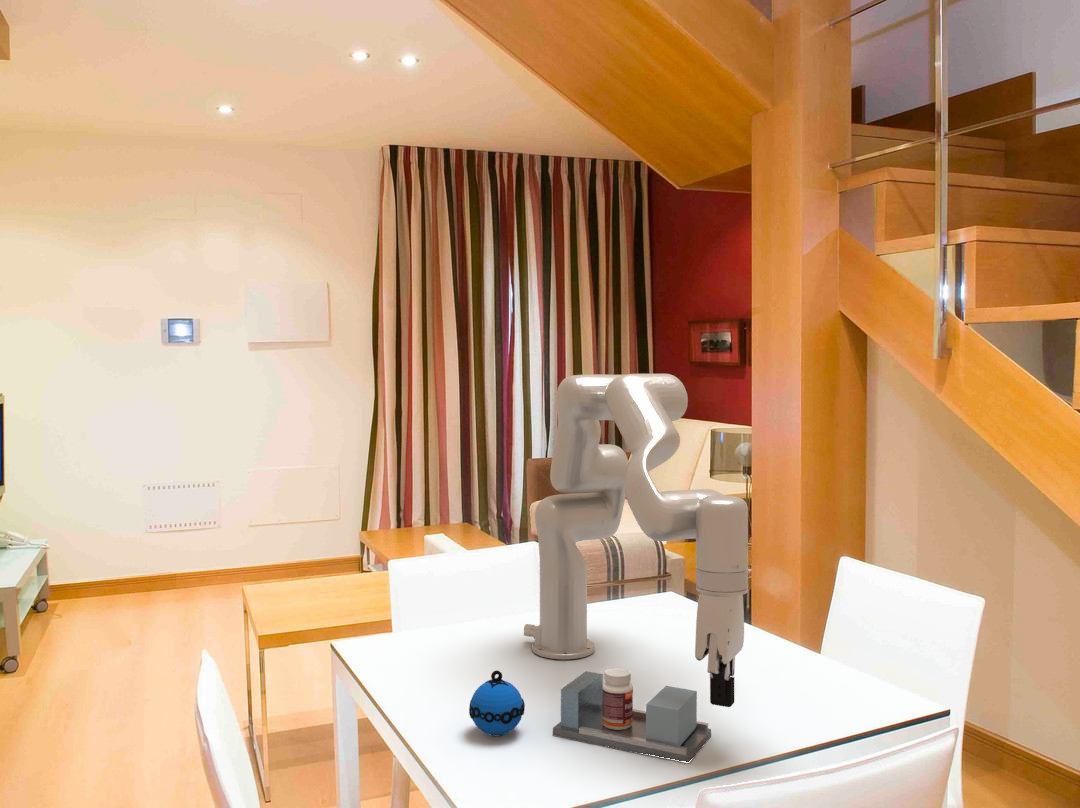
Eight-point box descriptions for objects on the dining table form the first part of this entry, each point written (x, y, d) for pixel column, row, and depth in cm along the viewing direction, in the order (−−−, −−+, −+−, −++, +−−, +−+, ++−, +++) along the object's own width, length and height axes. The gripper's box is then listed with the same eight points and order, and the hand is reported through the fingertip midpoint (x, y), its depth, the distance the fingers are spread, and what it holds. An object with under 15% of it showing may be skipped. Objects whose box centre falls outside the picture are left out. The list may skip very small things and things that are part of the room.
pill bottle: (631, 731, 140) (631, 678, 139) (600, 729, 141) (600, 676, 140) (634, 720, 144) (634, 668, 144) (604, 717, 145) (604, 666, 145)
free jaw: (645, 741, 135) (646, 704, 135) (665, 721, 143) (666, 685, 143) (677, 748, 133) (678, 710, 133) (696, 727, 141) (696, 691, 141)
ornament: (480, 749, 136) (480, 683, 136) (462, 728, 144) (462, 666, 144) (533, 739, 140) (533, 675, 139) (512, 719, 148) (512, 659, 147)
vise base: (552, 735, 141) (552, 689, 141) (582, 711, 151) (582, 668, 151) (688, 764, 131) (689, 715, 131) (711, 736, 141) (711, 690, 141)
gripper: (712, 568, 142) (712, 685, 142) (681, 588, 129) (681, 716, 129) (760, 573, 138) (760, 692, 139) (733, 593, 125) (733, 725, 126)
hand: (722, 703), depth 134 cm, fingers closed
